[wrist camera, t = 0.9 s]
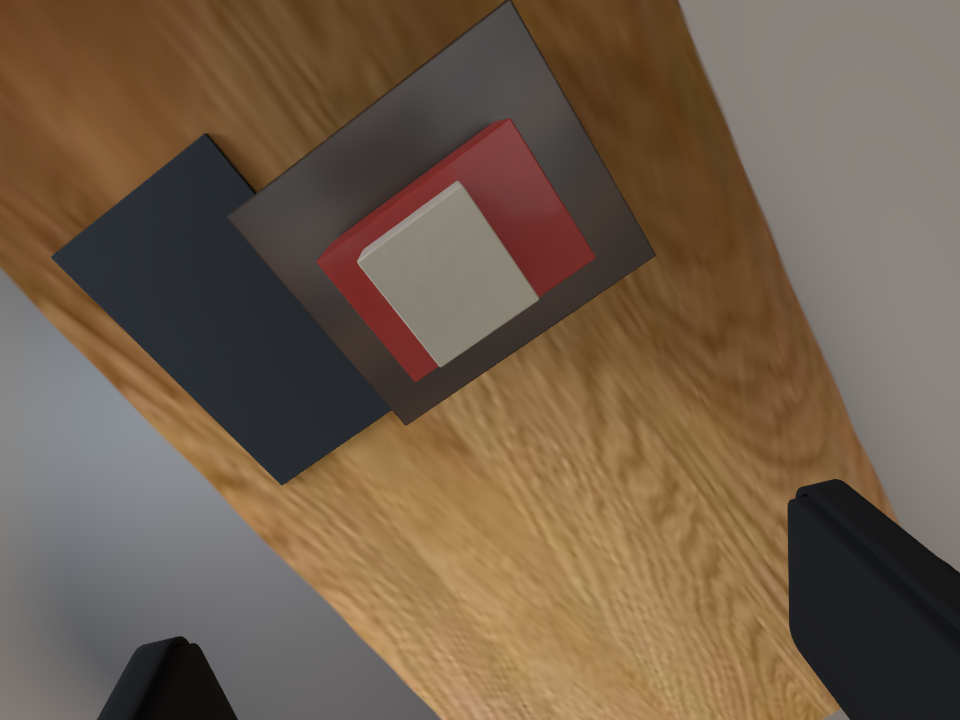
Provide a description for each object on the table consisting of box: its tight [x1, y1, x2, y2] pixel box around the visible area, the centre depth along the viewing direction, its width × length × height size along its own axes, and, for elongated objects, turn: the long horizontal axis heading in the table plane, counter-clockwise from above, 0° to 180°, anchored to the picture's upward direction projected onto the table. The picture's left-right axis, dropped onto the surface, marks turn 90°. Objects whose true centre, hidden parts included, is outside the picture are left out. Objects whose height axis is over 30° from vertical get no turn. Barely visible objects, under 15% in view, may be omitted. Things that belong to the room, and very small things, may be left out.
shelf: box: [227, 0, 656, 425], centre depth 30 cm, size 12×14×12 cm
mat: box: [51, 134, 391, 485], centre depth 37 cm, size 20×12×1 cm, turn 35°
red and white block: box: [317, 118, 596, 382], centre depth 22 cm, size 8×6×7 cm
